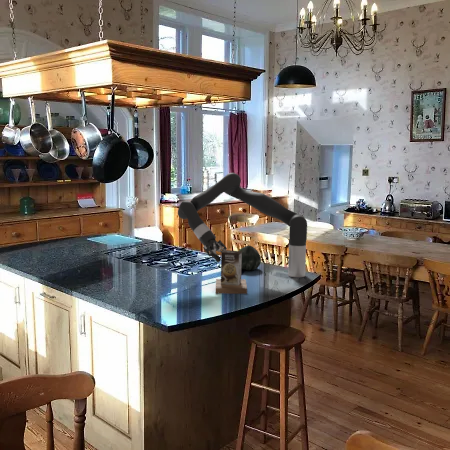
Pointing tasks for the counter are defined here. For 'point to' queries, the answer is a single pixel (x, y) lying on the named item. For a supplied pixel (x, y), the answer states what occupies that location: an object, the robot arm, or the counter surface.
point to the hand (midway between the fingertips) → (224, 259)
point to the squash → (250, 258)
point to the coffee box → (231, 267)
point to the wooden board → (231, 287)
